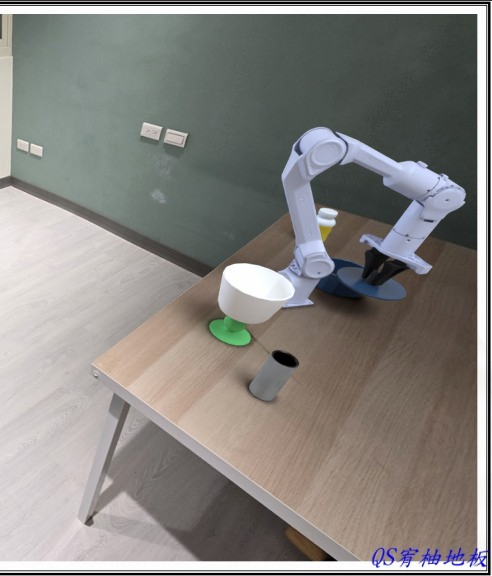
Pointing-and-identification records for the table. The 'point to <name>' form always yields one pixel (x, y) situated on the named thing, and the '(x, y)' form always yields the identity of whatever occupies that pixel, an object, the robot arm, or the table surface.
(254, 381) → the planter
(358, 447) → the table surface
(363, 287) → the lid
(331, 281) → the pan
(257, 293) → the cup
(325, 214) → the pill bottle
